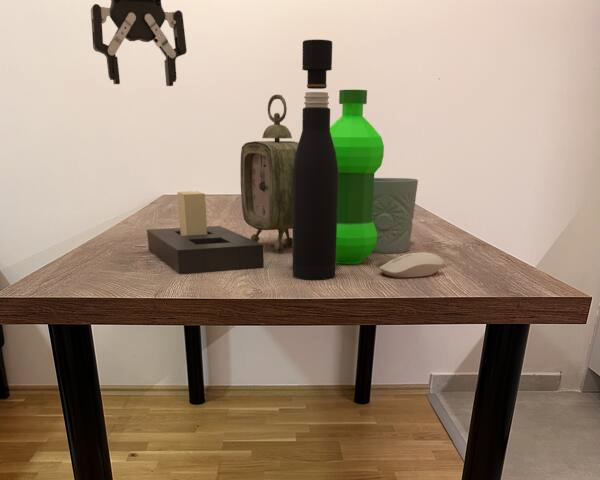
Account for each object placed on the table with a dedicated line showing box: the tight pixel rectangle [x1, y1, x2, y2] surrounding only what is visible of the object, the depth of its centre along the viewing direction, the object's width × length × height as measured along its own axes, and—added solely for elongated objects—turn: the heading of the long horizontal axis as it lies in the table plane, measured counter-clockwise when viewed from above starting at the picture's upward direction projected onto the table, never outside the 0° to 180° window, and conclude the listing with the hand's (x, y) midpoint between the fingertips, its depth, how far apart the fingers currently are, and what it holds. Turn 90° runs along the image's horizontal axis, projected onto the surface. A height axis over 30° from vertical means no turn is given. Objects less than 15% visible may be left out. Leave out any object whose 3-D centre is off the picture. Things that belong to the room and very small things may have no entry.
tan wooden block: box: [176, 190, 208, 236], centre depth 110 cm, size 4×5×10 cm
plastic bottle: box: [330, 89, 385, 265], centre depth 100 cm, size 10×10×25 cm
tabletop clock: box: [239, 94, 299, 253], centre depth 113 cm, size 14×9×25 cm, turn 27°
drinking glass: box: [372, 177, 419, 254], centre depth 114 cm, size 10×10×12 cm
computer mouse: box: [379, 252, 444, 279], centre depth 96 cm, size 6×10×3 cm, turn 111°
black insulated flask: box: [292, 39, 338, 281], centre depth 89 cm, size 6×6×30 cm
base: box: [146, 225, 265, 275], centre depth 107 cm, size 14×23×4 cm, turn 23°
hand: (143, 85), depth 103 cm, fingers open, 8 cm apart
